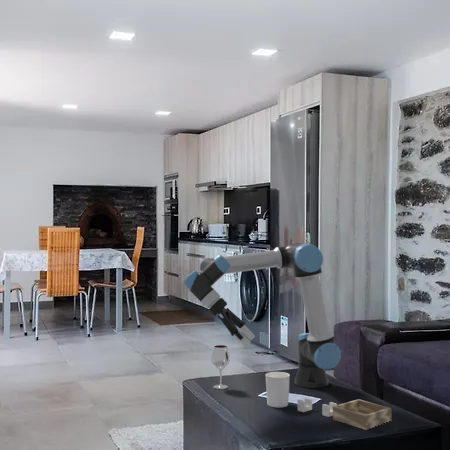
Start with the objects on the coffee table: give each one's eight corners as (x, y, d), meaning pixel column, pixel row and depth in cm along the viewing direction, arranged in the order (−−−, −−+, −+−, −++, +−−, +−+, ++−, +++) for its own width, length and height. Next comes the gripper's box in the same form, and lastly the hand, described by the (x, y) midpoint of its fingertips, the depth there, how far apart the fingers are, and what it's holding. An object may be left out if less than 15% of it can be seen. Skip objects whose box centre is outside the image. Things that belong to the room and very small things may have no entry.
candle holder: (288, 408, 239) (288, 378, 239) (263, 407, 241) (263, 376, 241) (291, 401, 248) (291, 372, 248) (267, 400, 250) (267, 371, 250)
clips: (311, 406, 242) (311, 396, 242) (337, 414, 232) (337, 403, 232) (297, 410, 237) (297, 400, 237) (323, 418, 227) (323, 407, 227)
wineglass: (218, 383, 277) (218, 344, 277) (233, 386, 272) (233, 346, 272) (207, 387, 270) (207, 346, 270) (222, 390, 265) (222, 349, 265)
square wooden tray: (358, 411, 235) (358, 399, 235) (391, 421, 224) (391, 408, 224) (332, 419, 226) (332, 406, 226) (365, 429, 214) (365, 416, 214)
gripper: (214, 305, 262) (248, 342, 259) (201, 313, 237) (239, 354, 235) (226, 293, 261) (261, 330, 258) (214, 300, 236) (253, 340, 234)
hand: (250, 341), depth 246 cm, fingers open, 13 cm apart
